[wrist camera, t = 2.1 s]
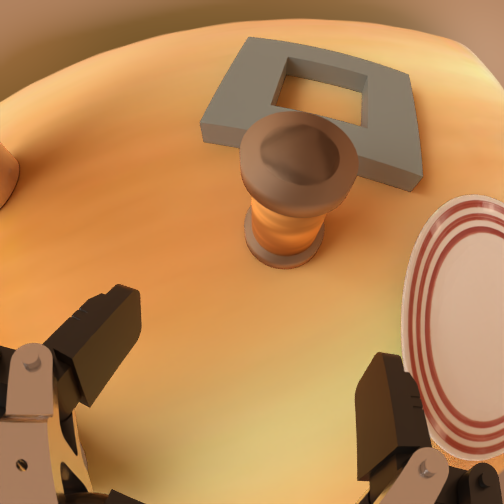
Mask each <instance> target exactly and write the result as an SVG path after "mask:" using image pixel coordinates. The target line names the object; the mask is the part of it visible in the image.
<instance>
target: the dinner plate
mask: <svg viewBox="0 0 504 504" xmlns="http://www.w3.org/2000/svg"><path fill="white" fill-rule="evenodd" d="M401 344H402V357H403V365H404V371H405V372H409V373H410V374H411V376H412V377H413V379H414V380H415V381H416V383H417V385H418V389H419V393H420V396H421V397H420V399H421V400H422V404H423V408H422V409H424V413H425V417H426V421H427V426H428V431H429V435H430V437H431V438H432V439H433V440H434V442H435V443H436V444H437V445H438V446H440V447H441V448H442V449H443V450H444V451H446V452H447V453H449V454H450V455H452V456H454V457H456V458H460V459H463V460H469V461H481V460H486V459H490V458H493V457H496V456H498V455H500V454H502V453H504V203H503V202H501V201H499V200H497V199H494V198H491V197H488V196H483V195H464V196H460V197H456V198H454V199H452V200H450V201H448V202H446V203H445V204H443V205H442V206H441V207H439V208H438V209H437V210H436V211H435V212H434V213H433V214H432V216H431V217H430V218H429V219H428V221H427V222H426V224H425V225H424V227H423V228H422V230H421V232H420V234H419V236H418V238H417V240H416V242H415V245H414V247H413V250H412V253H411V256H410V260H409V263H408V267H407V272H406V276H405V282H404V288H403V297H402V307H401Z"/></svg>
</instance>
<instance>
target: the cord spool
mask: <svg viewBox="0 0 504 504" xmlns="http://www.w3.org/2000/svg"><path fill="white" fill-rule="evenodd" d="M240 167H241V176H242V180H243V183H244V185H245V187H246V189H247V190H248V192H249V193H250V194H251V206H250V208H249V209H248V211H247V214H246V217H245V223H244V228H245V239H246V243H247V246H248V248H249V250H250V251H251V253H252V254H253V255H254V256H255V257H256V258H257V259H258V260H259V261H260V262H262V263H264V264H265V265H267V266H270V267H273V268H277V269H292V268H296V267H299V266H301V265H303V264H305V263H306V262H308V261H309V260H310V259H311V258H312V257H313V256H314V255H315V253H316V251H317V250H318V248H319V246H320V244H321V242H322V240H323V236H324V219H325V217H326V215H327V213H328V212H330V211H332V210H333V209H335V208H336V207H338V206H339V205H340V204H341V203H342V202H343V200H344V199H345V198H346V196H347V194H348V193H349V191H350V189H351V187H352V185H353V183H354V181H355V179H356V176H357V173H358V168H359V161H358V155H357V152H356V149H355V147H354V145H353V143H352V141H351V140H350V138H349V137H348V136H347V135H346V134H345V132H343V131H342V130H341V129H340V128H339V127H338V126H336V125H335V124H334V123H332V122H330V121H329V120H327V119H325V118H322V117H320V116H317V115H314V114H310V113H306V112H298V111H286V112H279V113H274V114H271V115H268V116H266V117H264V118H262V119H260V120H258V121H257V122H255V123H254V124H253V125H252V126H251V127H250V128H249V129H248V130H247V131H246V133H245V134H244V136H243V138H242V141H241V144H240Z"/></svg>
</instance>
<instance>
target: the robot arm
mask: <svg viewBox="0 0 504 504" xmlns="http://www.w3.org/2000/svg"><path fill="white" fill-rule="evenodd" d="M18 176H19V163H18V161H17V160H16V159H15V158H14V157H13V156H12V155H11V154H10V152H9V151H8V150H7V149H6V148H5V147H4V146H3V145H2V143H1V142H0V208H1V207H2V206H3V205H4V204H5V202H6V201H7V199H8V198H9V197H10V195H11V193H12V191H13V189H14V187H15V185H16V182H17V179H18ZM140 332H141V305H140V293H139V291H138V290H136V289H133V288H130V287H127V286H124V285H121V284H117V285H115V286H114V287H113V288H112V289H111V290H110V291H109V292H108V293H107V294H106V295H105V294H102V293H101V294H99V295H97V296H95V297H93V298H90V299H88V300H87V301H86V302H85V303H84V304H83V305H82V306H81V307H80V308H79V310H77V311H76V312H75V313H74V314H73V315H72V317H70V318H68V319H67V320H66V321H65V322H64V323H63V324H62V325H61V326H60V327H59V328H58V329H57V330H56V331H55V332H54V333H53V334H52V335H51V336H50V337H49V338H48V339H47V340H46V341H45V342H44V343H43V344H38V343H29V344H26V345H23V346H21V347H20V348H18V349H17V350H14V349H10V348H7V347H3V346H0V504H144V503H142V502H140V501H137V500H135V499H133V498H130V497H128V496H126V495H124V494H121V493H119V492H117V491H115V490H113V489H112V490H111V492H110V494H109V495H108V494H102V493H94V492H93V488H92V485H91V481H90V478H89V475H88V472H87V470H86V468H85V465H84V462H83V459H82V454H81V448H80V442H79V436H78V429H77V422H76V413H75V409H74V408H75V407H76V405H77V404H78V403H79V402H80V403H82V404H84V405H86V406H88V407H91V405H92V404H93V403H94V401H95V400H96V398H97V397H98V395H99V394H100V392H101V391H102V390H103V388H104V387H105V385H106V384H107V382H108V381H109V380H110V378H111V377H112V375H113V374H114V372H115V371H116V370H117V368H118V367H119V365H120V364H121V363H122V361H123V360H124V358H125V357H126V356H127V354H128V353H129V351H130V350H131V349H132V347H133V346H134V345H135V343H136V342H137V340H138V338H139V336H140ZM420 397H421V396H420V393H419V389H418V385H417V383H416V381H415V380H414V379H413V377H412V376H411V374H410V373H409V372H405V371H404V367H403V363H402V360H401V357H400V356H399V355H394V354H388V353H382V352H378V353H377V354H376V355H375V356H374V358H373V359H372V361H371V363H370V365H369V366H368V368H367V370H366V371H365V373H364V375H363V376H362V378H361V379H360V381H359V383H358V385H357V388H356V392H355V411H356V432H357V481H370V488H369V489H367V490H366V491H365V492H364V494H363V495H362V496H361V497H360V498H359V499H358V501H357V502H356V503H355V504H503V503H502V496H501V489H500V483H499V477H498V474H497V472H496V470H495V469H494V468H493V467H492V466H491V465H490V464H487V463H478V464H476V465H475V466H474V467H472V468H471V469H470V470H468V471H467V470H463V469H459V468H455V467H451V466H449V465H448V462H447V460H446V458H445V456H444V455H443V454H442V453H441V452H440V451H438V450H436V449H434V448H432V445H431V440H430V435H429V431H428V426H427V421H426V417H425V413H424V409H422V408H423V404H422V400H421V399H420Z"/></svg>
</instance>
